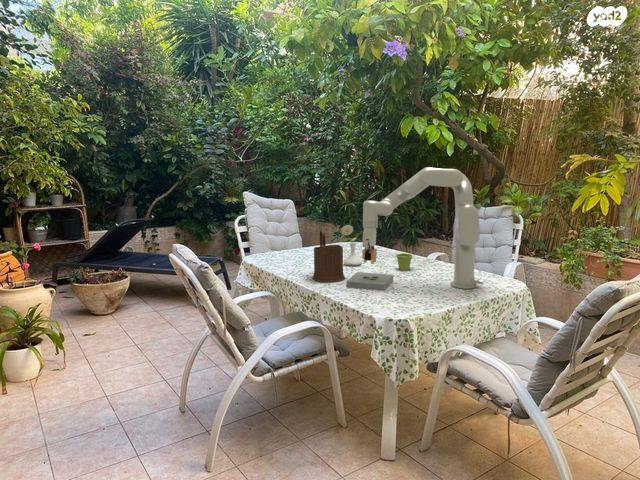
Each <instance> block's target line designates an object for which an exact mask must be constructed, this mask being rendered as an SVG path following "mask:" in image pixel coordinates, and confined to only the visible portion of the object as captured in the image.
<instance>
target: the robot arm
mask: <svg viewBox="0 0 640 480" xmlns="http://www.w3.org/2000/svg"><path fill="white" fill-rule="evenodd" d="M430 186H432V187H433V186H434V187H445V188H452V190H453V192H454V194H453V195H454V206H455V209H454V210H455V211H454V212H455V213H454V214H455V217H456V219H457V222H458V225H457V228H456V229H455V232H454V245H455V246H454V271H453V273H454V274H453V280H452V281H450V286H451V287H454V288H456V289H465V290H467V289H469V290H471V289H475V288H477V284H478V285H483V284H484V280H483V279H480V278H479V279H477V278H475V277H476V276H475V258H476V257H475V256H476V245H477V243H478V242H479V240H480V234H481V233H480V215H479V211H478V209H477V207H476V206H474V196H473V195H474V194H473V187H472V184H471V182H470V180H469V178H468V177H467V176H466V175H465V174H464V173H463V172H462V171H460V170H459V169H456V168H438V167H431V166H427V167H424V168H422V169H421V170H419V171H418V172H417V173H416V174H414V175H413V176H411V178H409V179H408V180H407V181H405V182H404V183H402V184H401V185H400V186H398V187H397V188H396V189H395V190H393V191H392V192H391V193H389V194H388V195H387V196H386V197H385V198H383V199H382V200H381V201H377V200H371V199H370V200H364V202H363V204H362V211H363V212H362V213H363V214H362V228H363V232H362V243H361V244H362V247H363V248H364V249H365V260H367V261H370V262H371V253H370V252H371V248H373V249H376V248H375V245H376V244H377V229H378V227H379V226H378V225H379V224H378V221H379V216H385V217H388V216H390V215H392V214H393V212H394V210H395V209H396V208H397V207H398V206H400V205H402V203H404V202H406V201H408V200H412V199H413V198H415V197H416V196H417V195H418V194H420V193H421V192H422V191H424V190H425V189H427V188H428V187H430Z"/></svg>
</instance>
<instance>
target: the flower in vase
mask: <svg viewBox="0 0 640 480" xmlns="http://www.w3.org/2000/svg"><path fill="white" fill-rule="evenodd" d="M340 232H341V235H344V236H348V237H344V238H342V241H344V242H347V241H350V242H348V244H349V246H350V255H349V256H347V257H346V258H345V259H343V265H346V266H354V267H355V266H360V265H361V264H362V263H363V260H361V258H360V257H358V256H357V255H356V252H355V251H356V250H355V249H356V245H357V243H358V242H355V241H356V240H357V236H356V237H353V238H352V239H350V236H349V235H351V234H352V233H353V232H354V227H353V226H352V225H350V224H347V225H344V226H343V227H342V228H341V230H340Z"/></svg>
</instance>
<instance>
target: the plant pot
mask: <svg viewBox="0 0 640 480" xmlns="http://www.w3.org/2000/svg"><path fill="white" fill-rule="evenodd" d="M412 257H413V254H411V253H397V254H396V259H397V264H398V270H399V271H403V272H404V271H409V270H410V268H411V267H410V266H411V262H412Z"/></svg>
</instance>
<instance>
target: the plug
mask: <svg viewBox="0 0 640 480" xmlns="http://www.w3.org/2000/svg"><path fill="white" fill-rule="evenodd" d="M377 251H378V250H377V248H375V249H373V248H371V252H370V253H371V260H370V264H371V265H374V264H375V263H377V253H378V252H377ZM361 256H362V257H361V258H362V259H363V263H364V264H365V263H368V260H365V248H363V249H362V255H361Z"/></svg>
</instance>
